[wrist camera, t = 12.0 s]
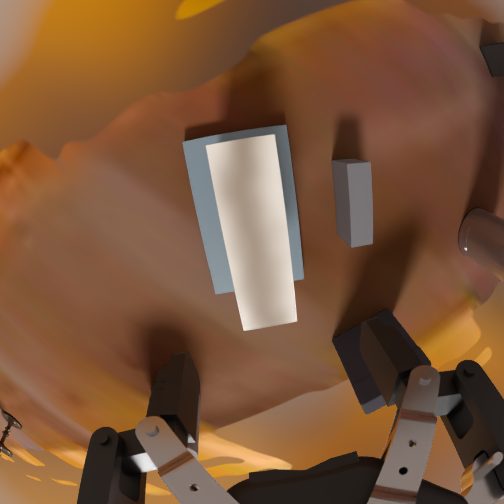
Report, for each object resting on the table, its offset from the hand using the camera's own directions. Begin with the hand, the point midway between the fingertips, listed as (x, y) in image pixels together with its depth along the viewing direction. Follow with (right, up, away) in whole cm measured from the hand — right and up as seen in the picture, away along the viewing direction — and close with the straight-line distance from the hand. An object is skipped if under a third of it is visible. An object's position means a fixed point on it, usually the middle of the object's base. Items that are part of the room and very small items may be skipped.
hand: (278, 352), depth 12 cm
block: (+11, +12, +23) cm, 28 cm away
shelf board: (-1, +6, +15) cm, 16 cm away
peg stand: (-2, +9, +23) cm, 25 cm away
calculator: (+18, -9, +32) cm, 38 cm away
